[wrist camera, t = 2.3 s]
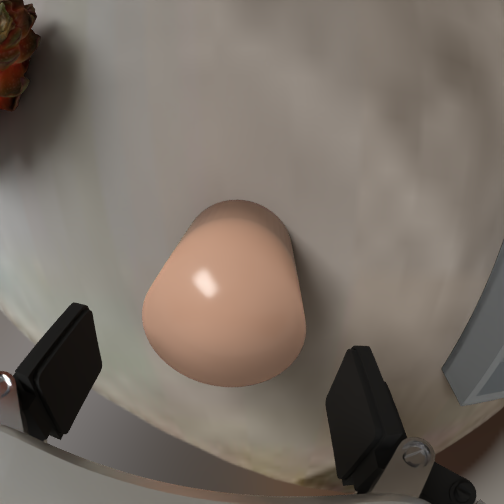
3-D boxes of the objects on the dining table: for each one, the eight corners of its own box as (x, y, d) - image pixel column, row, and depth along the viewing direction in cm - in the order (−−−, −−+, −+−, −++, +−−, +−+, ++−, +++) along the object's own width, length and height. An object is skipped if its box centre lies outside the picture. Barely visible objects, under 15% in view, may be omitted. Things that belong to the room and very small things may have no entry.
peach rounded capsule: (188, 193, 16) (138, 244, 9) (301, 209, 16) (325, 271, 10) (183, 290, 18) (147, 372, 12) (281, 304, 18) (286, 394, 12)
